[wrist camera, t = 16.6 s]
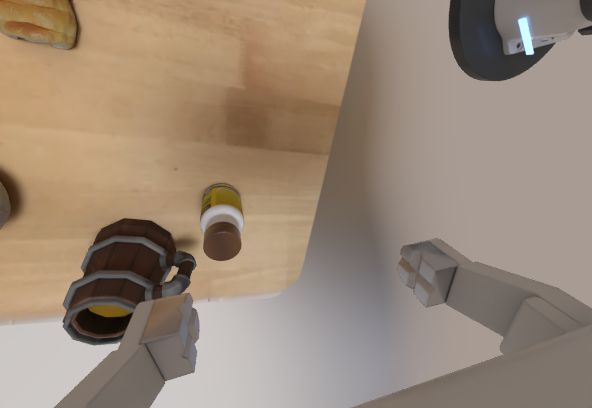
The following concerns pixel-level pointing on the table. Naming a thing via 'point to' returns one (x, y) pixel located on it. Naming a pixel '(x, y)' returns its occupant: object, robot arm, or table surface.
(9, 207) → the fruit
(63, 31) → the pastry
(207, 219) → the pill bottle
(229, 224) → the brown bottle cap
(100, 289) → the mug
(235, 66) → the table surface
